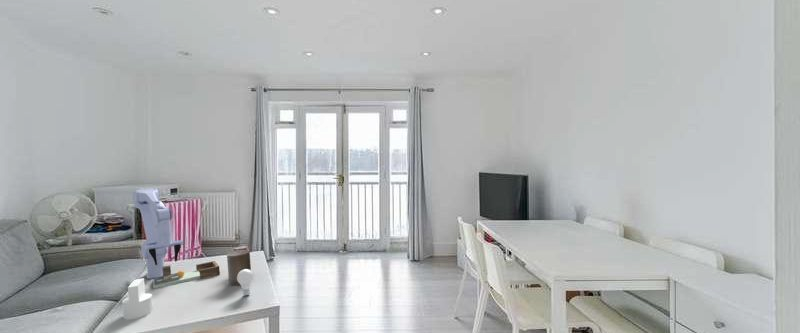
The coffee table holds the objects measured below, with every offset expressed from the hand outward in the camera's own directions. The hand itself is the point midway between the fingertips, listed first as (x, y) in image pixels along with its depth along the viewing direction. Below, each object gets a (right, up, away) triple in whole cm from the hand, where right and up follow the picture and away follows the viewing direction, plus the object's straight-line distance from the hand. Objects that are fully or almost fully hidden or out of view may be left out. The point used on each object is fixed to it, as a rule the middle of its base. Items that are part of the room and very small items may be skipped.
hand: (166, 262), depth 165 cm
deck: (+4, -9, +3) cm, 10 cm away
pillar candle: (+36, -8, -2) cm, 37 cm away
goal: (+14, -8, +11) cm, 20 cm away
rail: (0, -8, 0) cm, 8 cm away
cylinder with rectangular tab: (+11, -11, -32) cm, 35 cm away
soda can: (+32, -8, +10) cm, 34 cm away
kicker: (0, -8, 0) cm, 8 cm away
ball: (+5, -6, +4) cm, 9 cm away
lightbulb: (+46, -9, -19) cm, 50 cm away
